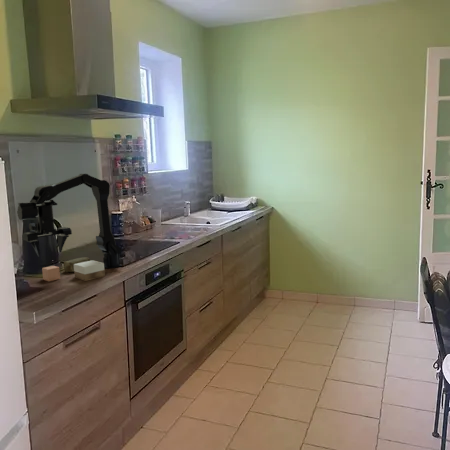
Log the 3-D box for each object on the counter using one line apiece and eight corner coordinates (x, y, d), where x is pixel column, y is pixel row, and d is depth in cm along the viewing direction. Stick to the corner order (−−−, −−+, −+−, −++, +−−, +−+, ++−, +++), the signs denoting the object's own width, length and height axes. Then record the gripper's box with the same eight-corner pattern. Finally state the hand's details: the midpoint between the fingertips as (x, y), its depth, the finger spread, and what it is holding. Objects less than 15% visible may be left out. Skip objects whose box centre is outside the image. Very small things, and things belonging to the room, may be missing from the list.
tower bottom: (93, 273, 202) (93, 266, 201) (105, 276, 196) (104, 269, 195) (74, 278, 196) (74, 271, 195) (85, 281, 189) (84, 274, 189)
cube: (54, 277, 198) (53, 265, 197) (60, 278, 194) (59, 267, 193) (43, 279, 194) (42, 268, 193) (48, 281, 191) (47, 269, 190)
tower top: (93, 266, 201) (92, 260, 201) (104, 269, 195) (103, 262, 195) (74, 271, 195) (73, 264, 195) (84, 274, 189) (84, 267, 188)
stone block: (91, 267, 212) (90, 257, 211) (71, 273, 203) (70, 262, 202) (83, 266, 215) (82, 256, 214) (62, 272, 206) (61, 261, 205)
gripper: (58, 213, 202) (61, 248, 205) (15, 218, 189) (19, 255, 192) (70, 214, 195) (74, 251, 197) (26, 220, 181) (30, 259, 184)
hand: (49, 254), depth 192 cm, fingers open, 9 cm apart
